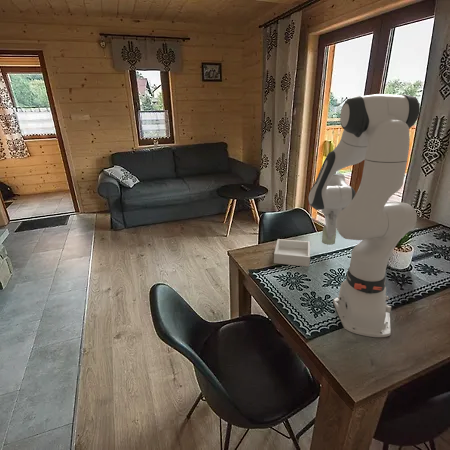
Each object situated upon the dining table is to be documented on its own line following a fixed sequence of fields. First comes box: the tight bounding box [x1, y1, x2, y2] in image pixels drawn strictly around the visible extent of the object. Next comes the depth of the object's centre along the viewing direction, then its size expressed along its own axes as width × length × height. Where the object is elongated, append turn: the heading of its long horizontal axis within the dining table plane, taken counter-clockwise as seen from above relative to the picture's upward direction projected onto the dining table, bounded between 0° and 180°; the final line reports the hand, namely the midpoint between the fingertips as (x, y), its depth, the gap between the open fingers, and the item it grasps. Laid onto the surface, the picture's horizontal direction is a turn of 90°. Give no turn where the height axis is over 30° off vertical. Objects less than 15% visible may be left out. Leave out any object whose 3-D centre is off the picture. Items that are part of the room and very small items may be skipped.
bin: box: [273, 238, 311, 268], centre depth 138 cm, size 16×16×5 cm
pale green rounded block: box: [321, 225, 337, 246], centre depth 136 cm, size 6×6×7 cm
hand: (328, 235), depth 136 cm, fingers closed on pale green rounded block, 6 cm apart
